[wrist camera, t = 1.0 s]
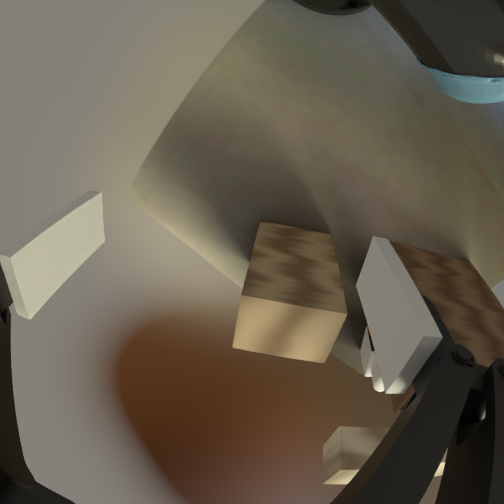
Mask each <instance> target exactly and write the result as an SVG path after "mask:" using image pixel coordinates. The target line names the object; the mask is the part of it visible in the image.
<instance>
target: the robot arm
mask: <svg viewBox="0 0 504 504" xmlns="http://www.w3.org/2000/svg"><path fill="white" fill-rule="evenodd" d="M294 1H295V2H297V3H298V4H300V5H302V6H304V7H306V8H308V9H311V10H313V11H316V12H320V13H324V14H330V15H349V14H354V13H358V12H361V11H364V10H366V9H368V8H369V7H371V6H372V5H373V6H374V8H375V9H376V10H377V11H378V12H379V13H380V14H381V15H382V16H383V17H384V18H385V19H386V20H387V22H388V23H389V24H390V25H391V26H392V27H393V28H394V30H395V31H396V32H397V33H398V34H399V35H400V37H401V38H402V39H403V40H404V42H405V43H406V44H407V45H408V47H409V48H410V49H411V50H412V52H413V53H414V54H415V56H416V57H417V58H416V59H417V61H418V62H419V64H420V65H421V66H422V67H423V68H425V69H426V70H427V71H428V72H429V74H430V75H431V76H432V78H433V79H434V80H435V82H436V83H437V84H438V86H439V87H440V88H441V89H442V90H443V91H444V92H445V93H446V94H448V95H450V96H452V97H453V98H455V99H457V100H460V101H464V102H469V103H494V102H501V101H504V0H294ZM104 242H105V237H104V225H103V212H102V193H101V192H96V191H88V192H86V193H85V194H83V195H82V196H80V197H79V198H77V199H75V200H74V201H72V202H70V203H69V204H67V205H66V206H64V207H63V208H61V209H59V210H58V211H57V212H55V213H54V214H52V215H51V216H49V217H48V218H46V219H45V220H43V221H42V222H40V223H39V224H37V225H36V226H35V227H33V228H32V229H30V230H29V231H27V232H26V233H25V234H24V235H22V236H21V237H19V238H18V239H17V240H15V241H14V242H13V243H11V244H10V245H9V246H8V247H6V248H5V249H3V250H2V251H1V252H0V504H75V503H74V502H72V501H71V500H69V499H67V498H65V497H63V496H61V495H59V494H57V493H55V492H53V491H52V490H50V489H48V488H46V487H44V486H43V485H41V484H39V483H37V482H36V481H35V479H34V477H33V475H32V474H31V472H30V470H29V469H28V467H27V465H26V463H25V460H24V456H23V452H22V447H21V442H20V437H19V431H18V426H17V419H16V412H15V404H14V396H13V386H12V370H11V342H10V341H11V340H10V338H11V337H10V336H11V335H10V334H11V313H10V310H9V306H10V305H11V304H12V303H14V306H15V309H16V311H17V314H18V315H20V316H22V317H25V318H27V319H29V320H30V319H31V318H32V317H33V316H34V315H35V314H36V312H37V311H38V310H39V309H40V308H41V307H42V306H43V304H44V303H45V302H46V301H47V300H48V299H49V298H50V297H51V296H52V295H53V293H54V292H55V291H56V290H57V289H58V288H59V287H60V286H61V285H62V284H63V283H64V282H65V281H66V280H67V279H68V278H69V276H71V274H72V273H73V272H74V271H75V270H76V269H77V268H78V267H79V266H80V265H81V264H82V263H83V262H84V261H85V260H86V259H87V258H88V257H89V256H90V255H91V254H92V253H93V252H94V251H96V250H97V248H99V247H100V246H101V245H102V244H103V243H104ZM356 287H357V290H358V294H359V297H360V300H361V303H362V307H363V310H364V314H365V317H366V320H367V324H368V327H369V331H370V335H371V338H372V342H373V346H374V349H375V353H376V357H377V361H378V365H379V369H380V373H381V377H382V381H383V386H384V390H385V393H388V394H404V393H405V391H406V390H407V389H408V387H409V386H410V385H411V383H412V384H413V387H414V391H415V392H414V393H413V394H412V395H411V397H410V398H409V399H408V400H407V402H406V403H405V404H404V405H403V406H402V408H401V409H400V410H401V413H400V414H399V416H398V417H397V419H396V420H395V422H394V423H393V425H392V426H391V428H390V429H389V431H388V432H387V434H386V435H385V437H384V438H383V439H382V441H381V442H380V444H379V445H378V446H377V448H376V449H375V450H374V452H373V453H372V454H371V456H370V457H369V458H368V460H367V461H366V462H365V463H364V465H363V466H362V467H361V469H360V470H359V471H358V472H357V473H356V475H355V476H354V477H353V478H352V479H351V481H350V482H349V483H348V484H347V485H346V487H345V488H344V489H343V490H342V491H341V492H340V493H339V495H338V496H337V497H336V498H335V499H334V500H333V501H332V502H331V503H330V504H419V502H420V500H421V499H422V497H423V495H424V493H425V492H426V490H427V488H428V486H429V485H430V483H431V481H432V479H433V477H434V475H435V473H436V471H437V469H438V467H439V465H440V463H441V461H442V459H443V457H444V454H445V452H446V450H447V448H448V450H447V455H446V460H445V465H444V470H443V475H442V479H441V483H440V487H439V491H438V495H437V498H436V502H435V504H504V359H502V358H496V359H495V360H494V361H493V362H492V364H491V365H490V366H489V367H486V366H483V365H480V364H476V360H475V357H474V355H473V354H472V353H471V352H470V351H469V350H468V349H467V348H466V347H464V346H462V345H460V344H455V343H454V341H453V339H452V337H451V335H450V333H449V331H448V329H447V328H446V326H445V324H444V322H442V321H443V320H442V318H441V316H440V315H439V313H438V311H437V309H436V307H435V305H434V304H433V303H432V302H431V301H430V300H429V299H428V298H427V297H426V296H421V294H420V293H419V291H418V289H417V287H416V286H415V284H414V282H413V280H412V279H411V277H410V275H409V273H408V272H407V270H406V268H405V267H404V265H403V263H402V262H401V260H400V258H399V257H398V255H397V253H396V252H395V250H394V248H393V247H392V245H391V244H390V242H389V240H388V239H386V238H381V237H376V236H373V238H372V241H371V244H370V247H369V250H368V253H367V255H366V258H365V261H364V264H363V267H362V270H361V273H360V275H359V278H358V281H357V283H356Z"/></svg>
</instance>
